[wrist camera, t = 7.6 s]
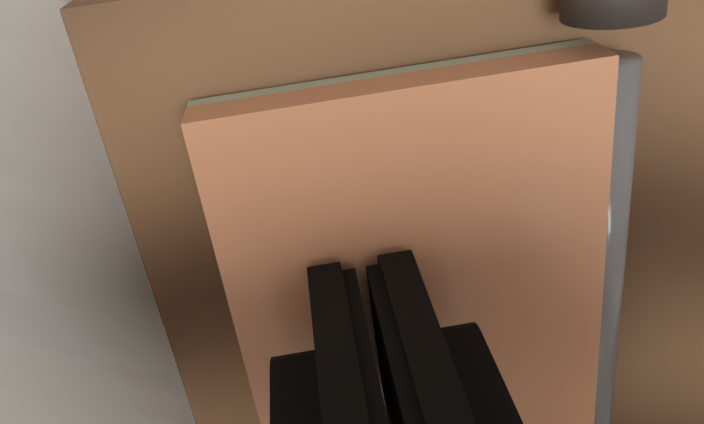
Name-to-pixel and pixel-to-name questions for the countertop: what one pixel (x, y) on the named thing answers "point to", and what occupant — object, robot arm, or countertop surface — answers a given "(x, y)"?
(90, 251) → the countertop surface
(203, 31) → the board
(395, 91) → the tile
